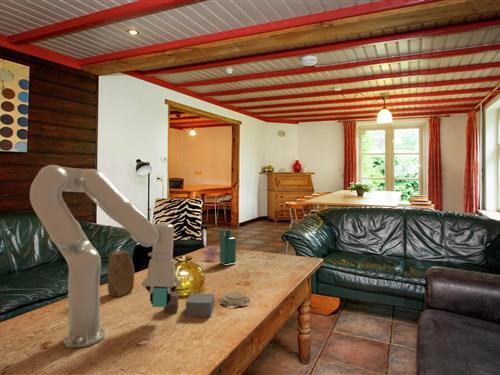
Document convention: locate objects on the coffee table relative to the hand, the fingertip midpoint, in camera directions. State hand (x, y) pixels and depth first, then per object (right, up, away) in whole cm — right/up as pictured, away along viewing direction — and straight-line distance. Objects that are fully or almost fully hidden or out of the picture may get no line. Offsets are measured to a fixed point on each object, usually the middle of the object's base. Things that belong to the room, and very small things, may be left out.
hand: (160, 302), depth 127 cm
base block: (+14, -7, +9) cm, 18 cm away
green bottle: (+20, -5, +83) cm, 85 cm away
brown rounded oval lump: (-26, -6, +28) cm, 39 cm away
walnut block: (+2, -7, +10) cm, 12 cm away
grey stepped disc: (+28, -7, +21) cm, 35 cm away
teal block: (0, -1, 0) cm, 1 cm away
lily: (+9, -4, +92) cm, 93 cm away
